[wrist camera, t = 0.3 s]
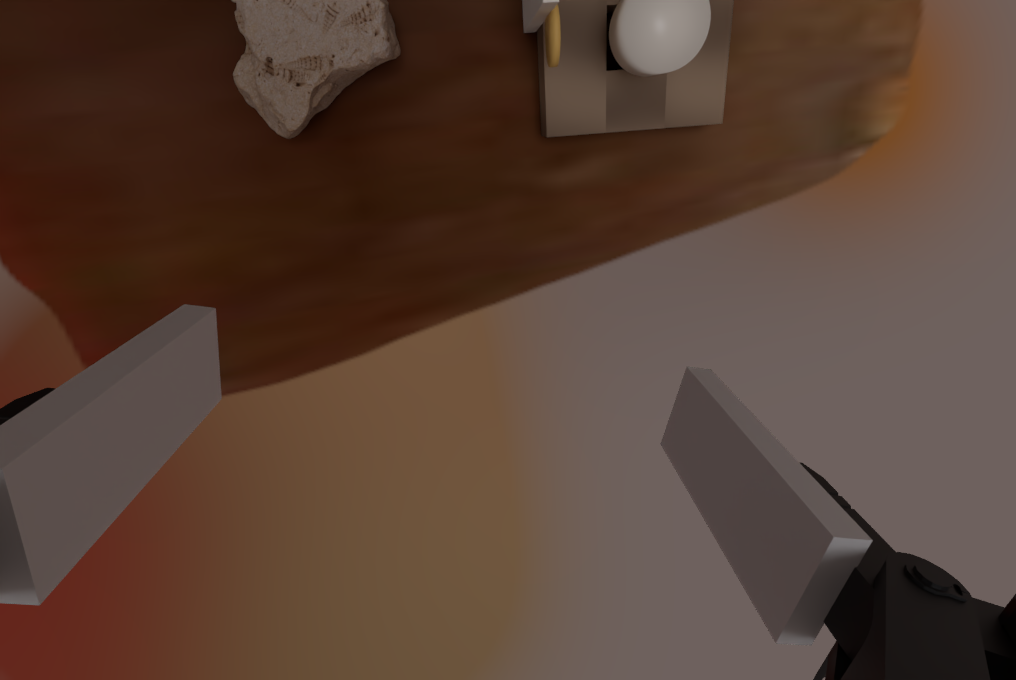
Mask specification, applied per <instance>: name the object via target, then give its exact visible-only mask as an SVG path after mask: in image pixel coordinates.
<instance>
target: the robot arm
mask: <svg viewBox="0 0 1016 680" xmlns="http://www.w3.org/2000/svg"><path fill="white" fill-rule="evenodd" d="M220 400H221V385H220V369H219V354H218V338H217V323H216V308H210V307H202V306H194V305H186V304H184V305H183V306H181V307H180V308H178V309H177V310H175V311H173V312H172V313H170V314H169V315H167V316H166V317H164V318H163V319H161V320H160V321H158V322H157V323H155V324H154V325H152V326H151V327H149V328H148V329H146V330H145V331H143V332H142V333H140V334H138V335H137V336H135V337H134V338H132V339H131V340H129V341H128V342H126V343H125V344H123V345H122V346H120V347H119V348H117V349H116V350H114V351H113V352H111V353H110V354H108V355H107V356H105V357H104V358H102V359H100V360H99V361H97V362H96V363H94V364H93V365H91V366H90V367H88V368H87V369H85V370H84V371H82V372H81V373H79V374H78V375H77V376H75V377H73V378H72V379H70V380H69V381H67V382H66V383H64V384H62V385H61V386H59V387H58V388H56V389H54V388H45V389H43V390H40V391H37V392H34V393H32V394H29V395H26V396H24V397H21V398H18V399H16V400H14V401H12V402H10V403H9V404H7V405H6V406H4V407H3V408H1V409H0V603H8V604H28V605H40V604H41V603H42V602H43V601H44V600H45V599H46V597H47V596H48V595H49V594H50V593H51V592H52V591H53V589H54V588H55V587H56V586H57V585H58V584H59V583H60V581H61V580H62V579H63V578H64V577H65V576H66V575H67V574H68V572H69V571H70V570H71V569H72V568H73V567H74V566H75V564H76V563H77V562H78V561H79V560H80V559H81V558H82V557H83V555H84V554H85V553H86V552H87V551H88V550H89V549H90V547H91V546H92V545H93V544H94V543H95V542H96V541H97V540H98V538H99V537H100V536H101V535H102V534H103V533H104V532H105V530H106V529H107V528H108V527H109V526H110V525H111V524H112V523H113V521H114V520H115V519H116V518H117V517H118V515H120V513H121V512H122V511H123V510H124V509H125V508H126V506H127V505H128V504H129V503H130V502H131V501H132V500H133V499H134V498H135V496H136V495H137V494H138V493H139V492H140V491H141V490H142V488H143V487H144V486H145V485H146V484H147V483H148V482H149V481H150V479H151V478H152V477H153V476H154V475H155V474H156V472H157V471H158V470H159V469H160V468H161V467H162V466H163V465H164V463H165V462H166V461H167V460H168V459H169V458H170V457H171V456H172V454H173V453H174V452H175V451H176V450H177V449H178V447H179V446H180V445H181V444H182V443H183V442H184V441H185V440H186V439H187V437H188V436H189V435H190V434H191V433H192V432H193V431H194V429H195V428H196V427H197V426H198V425H199V424H200V422H202V420H203V419H204V418H205V417H206V416H207V415H208V414H209V412H210V411H211V410H212V409H213V408H214V407H215V406H216V405H217V403H218V402H219V401H220ZM661 446H662V447H663V449H664V451H665V453H666V454H667V456H668V457H669V459H670V461H671V463H672V465H673V466H674V468H675V470H676V472H677V473H678V475H679V477H680V479H681V480H682V482H683V484H684V485H685V487H686V489H687V491H688V492H689V494H690V496H691V498H692V499H693V501H694V503H695V504H696V506H697V508H698V510H699V511H700V513H701V515H702V517H703V518H704V520H705V522H706V524H707V525H708V527H709V528H710V530H711V532H712V534H713V535H714V537H715V539H716V540H717V543H718V544H719V546H720V548H721V549H722V551H723V553H724V555H725V556H726V558H727V560H728V562H729V563H730V565H731V567H732V568H733V570H734V572H735V574H736V575H737V577H738V579H739V581H740V582H741V584H742V586H743V588H744V589H745V591H746V593H747V594H748V596H749V598H750V600H751V601H752V603H753V605H754V606H755V608H756V610H757V612H758V613H759V615H760V617H761V618H762V620H763V622H764V624H765V626H766V627H767V629H768V631H769V632H770V634H771V636H772V638H773V639H774V641H775V643H776V644H796V645H812V643H813V642H814V640H815V638H816V636H817V635H818V633H819V631H820V629H821V628H822V626H823V624H824V623H825V624H826V626H827V627H828V629H829V630H830V632H831V633H832V634H833V636H834V637H835V639H836V640H837V641H836V643H835V644H834V646H833V648H832V649H831V651H830V652H829V654H828V656H827V657H826V659H825V661H824V662H823V664H822V666H821V667H820V669H819V670H818V672H817V674H816V676H815V678H814V679H813V680H822V679H823V678H824V677H826V678H825V680H1016V594H1015V595H1014V597H1013V598H1012V599H1011V601H1010V602H1009V603H1008V604H1007V606H1006V607H1005V608H1004V607H1001V606H998V605H994V604H991V603H988V602H985V601H981V600H979V599H975V598H972V597H971V595H970V593H969V592H968V591H967V590H966V589H965V587H964V586H963V585H962V584H961V583H960V582H959V581H958V580H957V579H955V578H954V577H953V576H951V575H950V574H949V573H947V572H946V571H945V570H943V569H941V568H940V567H938V566H936V565H934V564H933V563H931V562H929V561H927V560H925V559H922V558H920V557H917V556H914V555H911V554H907V553H901V552H897V553H896V552H895V551H894V550H893V549H892V548H891V547H890V546H889V545H888V544H887V543H886V542H885V541H884V539H882V538H881V536H880V535H879V534H878V533H877V532H876V531H875V530H874V529H873V528H872V527H871V526H870V525H869V524H868V523H867V522H866V521H865V520H864V519H863V518H862V517H861V516H860V515H859V514H858V513H857V512H856V511H855V510H854V509H851V506H850V505H849V504H848V503H847V501H845V499H844V498H843V497H842V496H838V492H837V491H836V490H835V489H834V488H833V487H832V486H831V485H830V484H829V483H828V482H827V481H826V480H825V479H824V478H823V477H822V476H820V475H819V474H817V473H816V472H815V471H813V470H812V469H810V468H809V467H807V466H806V465H804V464H803V463H799V462H798V461H797V460H796V459H795V458H794V457H793V456H792V455H791V454H790V452H789V451H788V450H787V449H786V448H785V447H784V446H783V445H782V444H781V443H780V442H779V441H778V440H777V439H776V438H775V437H774V436H773V434H771V432H770V431H769V430H768V429H767V428H766V427H765V426H764V425H763V424H762V423H761V422H760V421H759V420H758V419H757V418H756V417H755V415H754V414H753V413H752V412H751V411H750V410H749V409H748V408H747V407H746V406H745V405H744V404H743V403H742V402H741V401H740V400H739V399H738V397H737V396H736V395H735V394H734V393H733V392H732V391H731V390H730V389H729V388H728V387H727V386H726V385H725V384H724V383H723V382H722V381H721V380H720V378H718V376H717V375H716V374H715V373H714V372H713V371H712V370H710V369H702V368H693V367H687V368H686V371H685V373H684V377H683V379H682V382H681V385H680V388H679V391H678V394H677V397H676V400H675V403H674V406H673V409H672V412H671V415H670V418H669V421H668V424H667V427H666V430H665V433H664V436H663V439H662V442H661Z"/></svg>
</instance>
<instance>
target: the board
mask: <svg viewBox="0 0 1016 680" xmlns="http://www.w3.org/2000/svg"><path fill="white" fill-rule="evenodd" d="M619 2H620V0H559V3H558V8H559V15H560V31H561V42H560V57H559V63H558V66H557V67H550V68H549V66H548V63H547V57H546V46H545V21H544V22H543V23H542V25H541V26H540V27H539V28H538V30H537V43H538V67H539V92H540V116H541V136H544V137H558V136H571V135H584V134H596V133H609V132H622V131H634V130H647V129H660V128H672V127H685V126H698V125H710V124H722V122H723V111H724V100H725V89H726V79H727V68H728V57H729V47H730V36H731V25H732V14H733V4H734V0H709V3H710V9H711V21H710V27H709V31H708V35H707V37H706V40H705V42H704V44H703V46H702V48H701V49H700V51H699V52H698V53H697V55H696V56H695V57H694V58H693V59H692V60H691V61H690V62H689V63H687V64H686V65H685V66H683V67H681V68H680V69H677V70H675V71H672V72H668V73H663V74H659V75H654V76H648V77H641V76H636V75H633V74H631V73H629V72H627V71H626V70H612V71H606V41H607V13H613V12H614V10H615V8H616V6H617V5H618V3H619Z"/></svg>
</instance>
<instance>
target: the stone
mask: <svg viewBox="0 0 1016 680" xmlns="http://www.w3.org/2000/svg"><path fill="white" fill-rule="evenodd" d="M231 1H232V2H234V3H236V4H237V10H236V11H235V18H236V21H237V24H238V29H239V31H240V32H241V33H242V34H243V35H244V37H245V39H246V49H245V53H244V54H243V55H241V59H240V60H239V61H238V63H237V65H236V67H235V70H234V72H233V78H234V82H235V84H236V86H237V88H238V90H239V92H240V93H241V94H242V95H243V97H244V99H245V101H246V102H247V103H248V104H249V105H250V106H251V107H252V108H255V109H256V110H257V112H258V113H259V115H260V116H262V117H263V119H264V120H265V121H266V123H267V124H268V125H269V127H270V128H271V129H272V130H274V131H275V132H276V133H277V134H278V135H280V136H282V137H284V138H288V139H291V138H293V137H295V136H297V135H299V134H300V132H301V131H302V130H303V129H304V128H305V127H306V126H307V125H308V123H309V121H310V120H311V118H312V117H313V116H314V115H315V114H316V113H318V112H320V111H322V110H324V109H326V108H327V107H328V106H329V105H330V104H331V103H332V102H333V100H334V99H335V98H336V96H337V95H339V94H340V93H341V91H342V90H343V89H344V88H345V87H346V86H348V85H350V84H351V83H353V82H354V81H355V80H356V79H357V78H359V77H360V76H362V75H364V74H365V73H366V72H367V71H369V70H371V69H373V68H374V67H376V66H379V65H380V64H381V63H384V62H386V61H388V60H392V59H396V58H397V57H398V56H400V53H401V51H400V46H399V42H398V40H397V37H396V33H395V24H394V22H393V19H392V16H391V14H390V13H389V8H388V7H389V3H388V1H387V0H231Z"/></svg>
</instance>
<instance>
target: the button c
mask: <svg viewBox="0 0 1016 680" xmlns="http://www.w3.org/2000/svg"><path fill="white" fill-rule="evenodd" d="M710 21H711V9H710V3H709V0H620V2H619V3H618V5H617V6H616V8H615V10H614V12H613V15H612V18H611V21H610V27H609V42H610V47H611V51H612V53H613V56H614V58H615V59H616V61H617V62H618V64H619V65H620V66H621V67H622V68H623V69H624V70H626V71H627V72H629V73H631V74H633V75H636V76H641V77H648V76H654V75H659V74H663V73H668V72H672V71H675V70H677V69H680V68H681V67H683V66H685V65H686V64H687V63H689V62H690V61H691V60H692V59H693V58H694V57H695V56H696V55H697V53H698V52H699V51H700V49H701V48H702V46H703V44H704V42H705V40H706V37H707V35H708V31H709V27H710Z"/></svg>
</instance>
